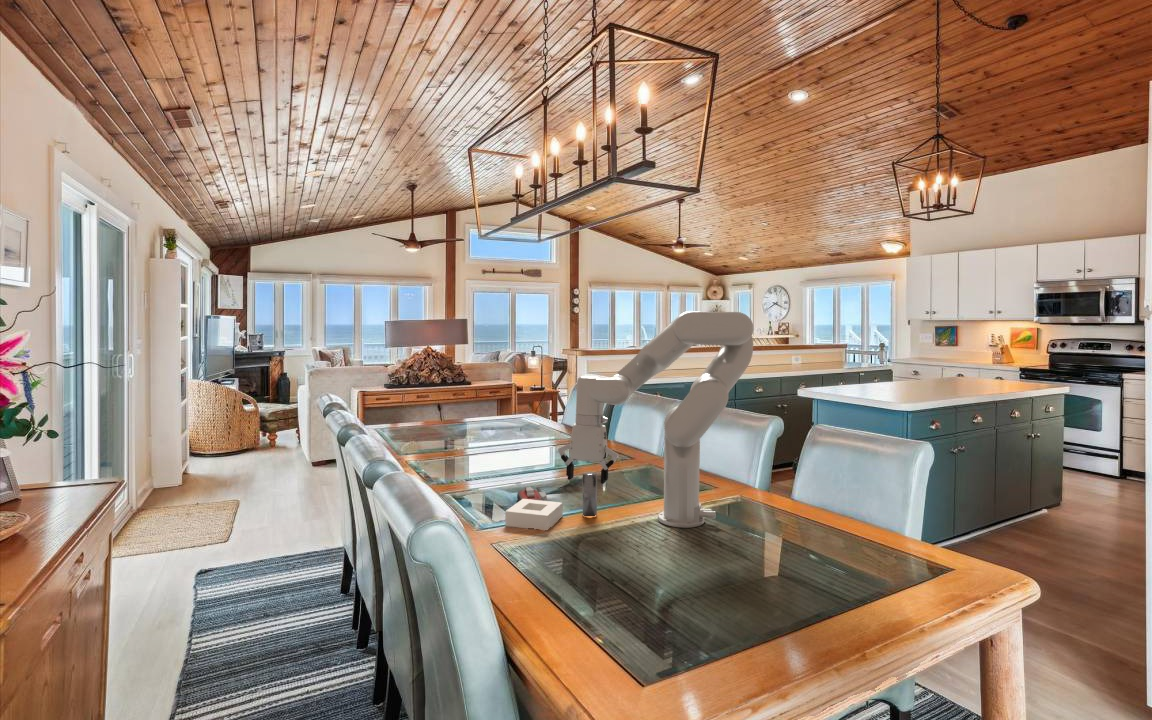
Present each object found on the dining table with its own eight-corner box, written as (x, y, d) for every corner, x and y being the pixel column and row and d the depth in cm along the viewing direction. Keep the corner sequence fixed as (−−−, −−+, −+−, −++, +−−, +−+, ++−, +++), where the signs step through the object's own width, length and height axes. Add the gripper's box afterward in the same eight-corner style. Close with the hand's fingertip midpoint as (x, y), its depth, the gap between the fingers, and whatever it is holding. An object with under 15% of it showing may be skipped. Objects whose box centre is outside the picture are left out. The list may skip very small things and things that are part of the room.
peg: (598, 514, 169) (598, 472, 169) (594, 518, 166) (594, 476, 165) (585, 513, 171) (585, 471, 170) (580, 517, 167) (580, 475, 166)
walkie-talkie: (551, 510, 174) (541, 491, 194) (551, 496, 174) (541, 478, 193) (521, 512, 172) (514, 493, 192) (521, 497, 172) (514, 479, 191)
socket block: (562, 516, 167) (562, 502, 167) (547, 530, 156) (547, 515, 156) (523, 512, 171) (523, 498, 171) (505, 525, 160) (505, 511, 159)
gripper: (622, 420, 167) (620, 481, 168) (564, 415, 173) (562, 474, 174) (615, 425, 160) (613, 487, 161) (555, 419, 165) (553, 480, 167)
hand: (586, 480), depth 168 cm, fingers open, 9 cm apart
